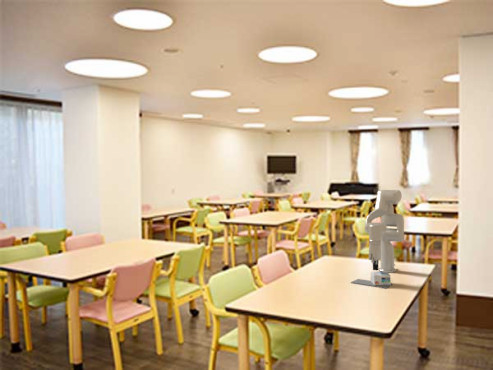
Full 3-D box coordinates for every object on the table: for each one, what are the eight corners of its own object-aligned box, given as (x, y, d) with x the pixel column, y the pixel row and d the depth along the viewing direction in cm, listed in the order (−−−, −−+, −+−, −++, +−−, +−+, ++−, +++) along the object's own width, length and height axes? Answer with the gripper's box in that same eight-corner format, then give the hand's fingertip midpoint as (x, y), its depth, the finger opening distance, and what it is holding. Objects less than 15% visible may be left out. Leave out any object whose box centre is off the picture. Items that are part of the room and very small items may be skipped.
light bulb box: (386, 271, 279) (390, 275, 268) (386, 281, 279) (391, 285, 268) (370, 271, 279) (373, 275, 268) (370, 281, 279) (374, 285, 269)
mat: (357, 279, 287) (357, 278, 287) (392, 285, 271) (392, 284, 271) (350, 283, 279) (350, 282, 279) (386, 288, 263) (386, 287, 263)
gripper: (374, 240, 288) (375, 267, 288) (364, 244, 277) (365, 271, 277) (385, 241, 283) (385, 268, 283) (375, 245, 272) (376, 273, 272)
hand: (375, 269), depth 280 cm, fingers closed
